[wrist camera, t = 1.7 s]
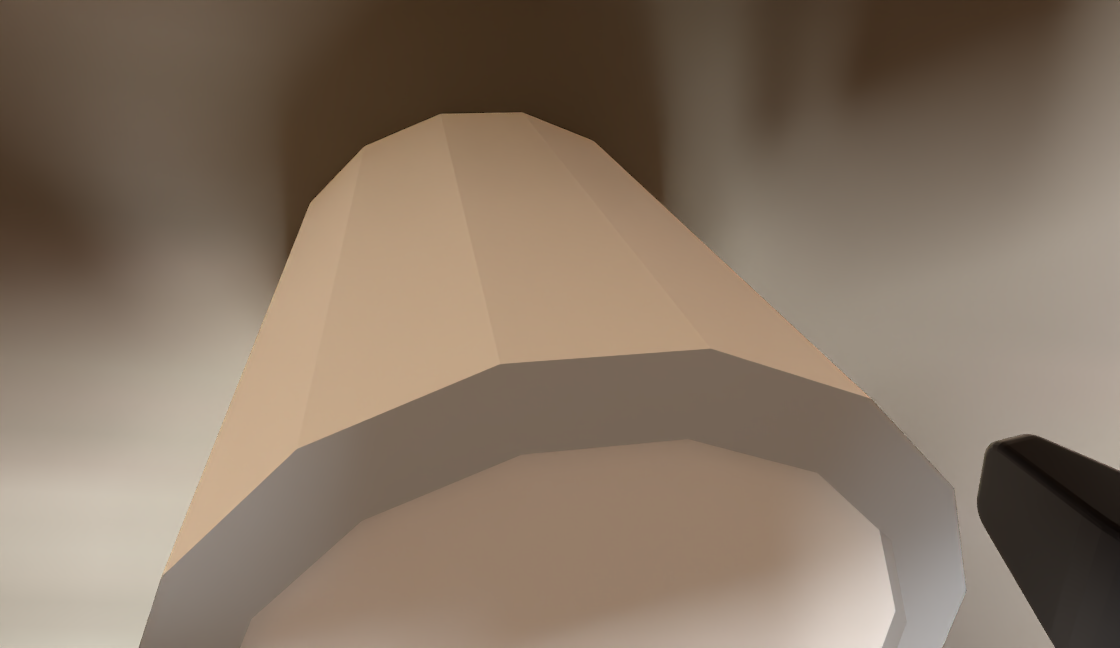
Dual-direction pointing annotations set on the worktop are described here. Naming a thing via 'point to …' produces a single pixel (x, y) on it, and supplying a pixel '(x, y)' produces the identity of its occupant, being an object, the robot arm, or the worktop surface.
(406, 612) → the faceted beige tumbler
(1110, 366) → the worktop surface
